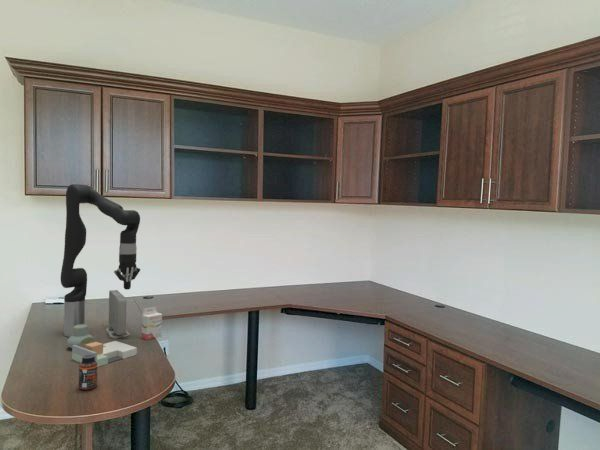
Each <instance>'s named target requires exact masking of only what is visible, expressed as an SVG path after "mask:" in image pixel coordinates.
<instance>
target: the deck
mask: <svg viewBox="0 0 600 450" xmlns="http://www.w3.org/2000/svg"><path fill="white" fill-rule="evenodd" d="M102 344H103V353H102V354H99V355H97V352H94V351H91V350H88V349H86V348H83V347H80V346H77V345H72V348H71V351H72V353H71V355H72V356H71V360H72V361H75V362H77V363H79V364H80V363H81V362H82V357H83V356H84V355H94V356H95V359H94V360H95V361H97V368H98V367H99V368H100V367H102V366H106V365H108V364H112V363H115V362H117V361H120V360H124V359H126V358H130V357H131V358H132V357H133V356H137V355H138V348H137V347H136V346H133V345H129V344H126V343H123V342H120V341H117V340H113V341H109V342H106V343H102Z"/></svg>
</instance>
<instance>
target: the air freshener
mask: <svg viewBox="0 0 600 450" xmlns="http://www.w3.org/2000/svg"><path fill="white" fill-rule="evenodd" d="M93 342H95V339H94V336H93V335H92V334H90V333H89V325H87V324H86V323H85V324H81V325H76V326H74V327H73V335H72V336H71V337H69V338H68V339H67V340H66V344H67V346H68V347H69V348H70V349H72V345H77V346H80V347H83V348H85V344H89V343H93Z"/></svg>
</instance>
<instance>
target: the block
mask: <svg viewBox="0 0 600 450" xmlns="http://www.w3.org/2000/svg"><path fill="white" fill-rule="evenodd" d="M103 344H104V343H101V342H98V341H94V342H93V343H89V344H85V348H86V349H88V350H91V351H94V352H97V355H99V354H102V353H103Z"/></svg>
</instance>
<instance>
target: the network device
mask: <svg viewBox="0 0 600 450" xmlns="http://www.w3.org/2000/svg"><path fill="white" fill-rule="evenodd" d="M108 325H109V326H110V327H106V329H105V330H106V332H107V334H108V336H109V337H110V338H111V339H117V338H118V339H119V338H125V337H126V336H127V337H129V336H130V333H129V331H128V330H127V298H126V297H125V295H123V294H122V292H120V291H119V290H118V289H112V290H108ZM111 330H112V331H111ZM114 335H115V336H114Z"/></svg>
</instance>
